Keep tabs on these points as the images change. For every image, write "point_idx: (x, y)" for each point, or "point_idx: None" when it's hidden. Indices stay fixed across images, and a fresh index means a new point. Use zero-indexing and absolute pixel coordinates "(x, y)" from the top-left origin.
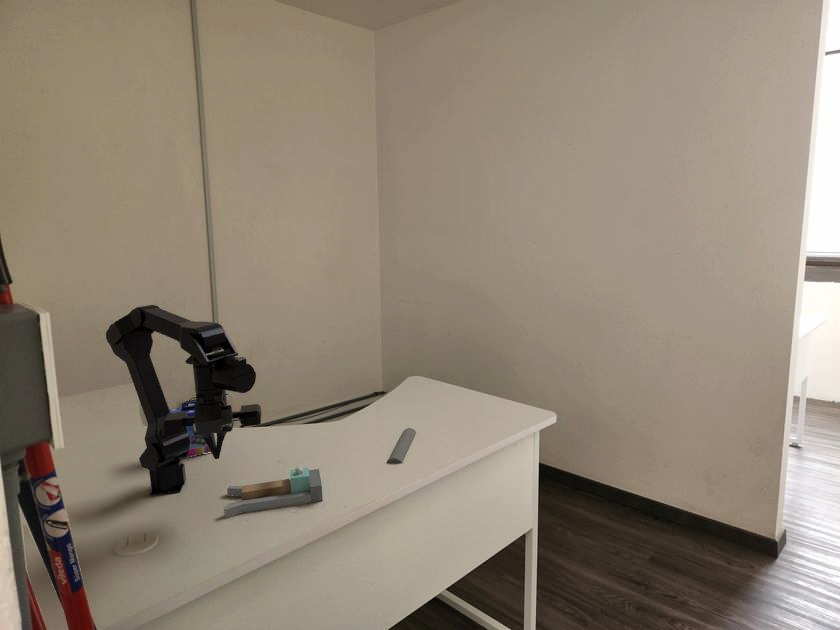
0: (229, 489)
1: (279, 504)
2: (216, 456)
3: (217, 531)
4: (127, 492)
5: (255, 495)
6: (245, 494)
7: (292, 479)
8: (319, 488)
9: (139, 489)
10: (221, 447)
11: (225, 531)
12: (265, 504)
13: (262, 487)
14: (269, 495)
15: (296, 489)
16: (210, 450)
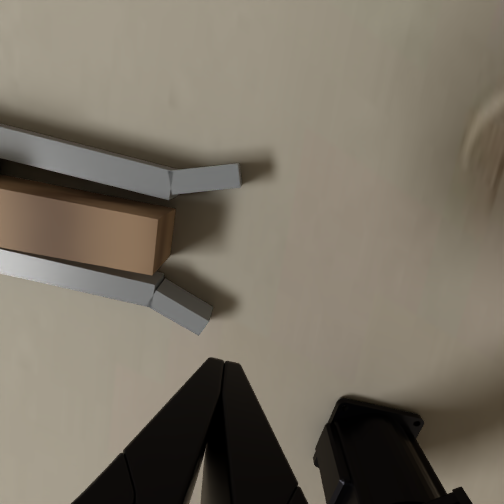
0: (202, 314)
1: (41, 135)
2: (224, 372)
3: (282, 78)
4: (464, 460)
5: (113, 204)
6: (147, 214)
7: None
8: None
9: (433, 461)
10: (148, 423)
11: (256, 61)
12: (89, 148)
13: (70, 218)
14: (64, 192)
15: None
16: (272, 430)
